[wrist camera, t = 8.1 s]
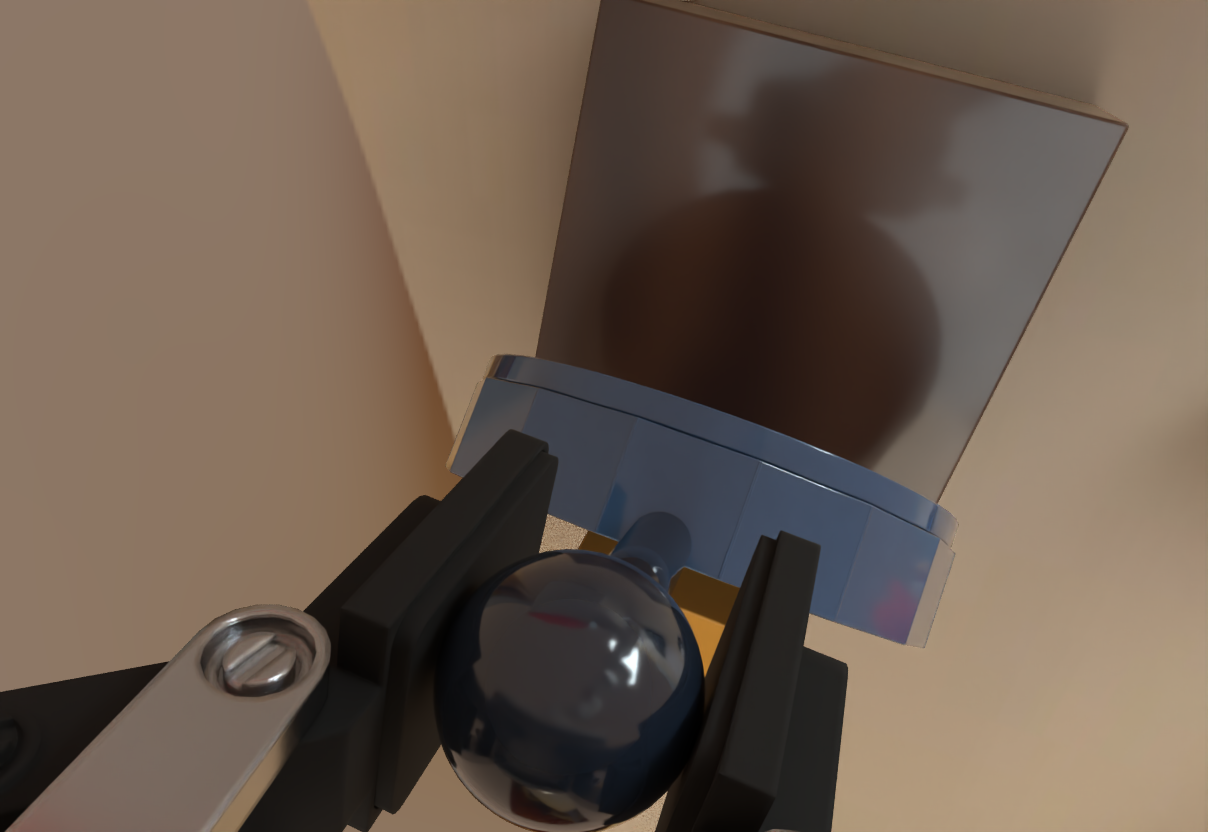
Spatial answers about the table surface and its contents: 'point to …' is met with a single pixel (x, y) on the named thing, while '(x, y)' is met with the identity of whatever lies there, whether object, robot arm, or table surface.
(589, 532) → the cube
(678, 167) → the stand
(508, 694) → the blue frying pan
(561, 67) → the table surface
